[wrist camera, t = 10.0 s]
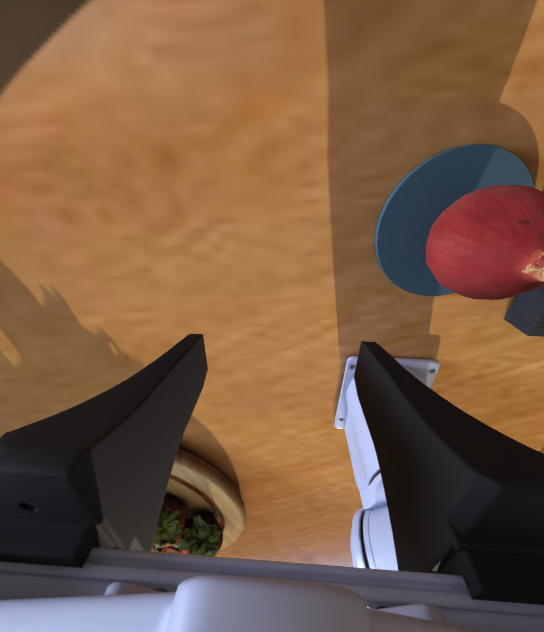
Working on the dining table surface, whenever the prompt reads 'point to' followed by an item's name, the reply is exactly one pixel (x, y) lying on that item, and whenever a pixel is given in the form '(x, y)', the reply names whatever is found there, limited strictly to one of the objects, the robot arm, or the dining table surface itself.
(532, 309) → the tray
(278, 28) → the dining table surface
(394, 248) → the mat
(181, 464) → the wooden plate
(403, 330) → the dining table surface
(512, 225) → the onion
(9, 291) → the dining table surface
